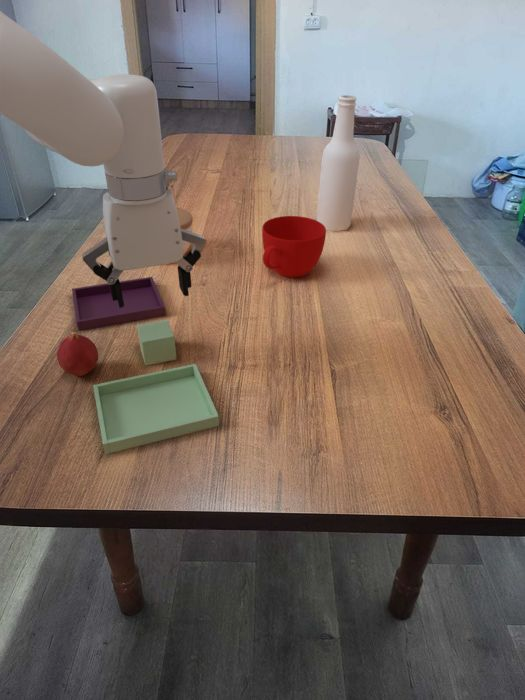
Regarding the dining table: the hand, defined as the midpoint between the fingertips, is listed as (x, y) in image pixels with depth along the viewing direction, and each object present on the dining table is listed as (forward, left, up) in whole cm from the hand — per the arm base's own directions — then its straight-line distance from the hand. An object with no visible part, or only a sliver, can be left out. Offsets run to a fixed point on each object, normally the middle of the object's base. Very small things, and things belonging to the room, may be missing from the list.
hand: (153, 297), depth 74 cm
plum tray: (-4, +17, -11) cm, 21 cm away
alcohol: (+53, +40, -11) cm, 67 cm away
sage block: (0, 0, -11) cm, 11 cm away
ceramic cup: (+31, +19, -11) cm, 38 cm away
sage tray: (-3, -13, -11) cm, 17 cm away
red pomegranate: (-12, -1, -11) cm, 17 cm away
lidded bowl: (+9, +36, -11) cm, 39 cm away
